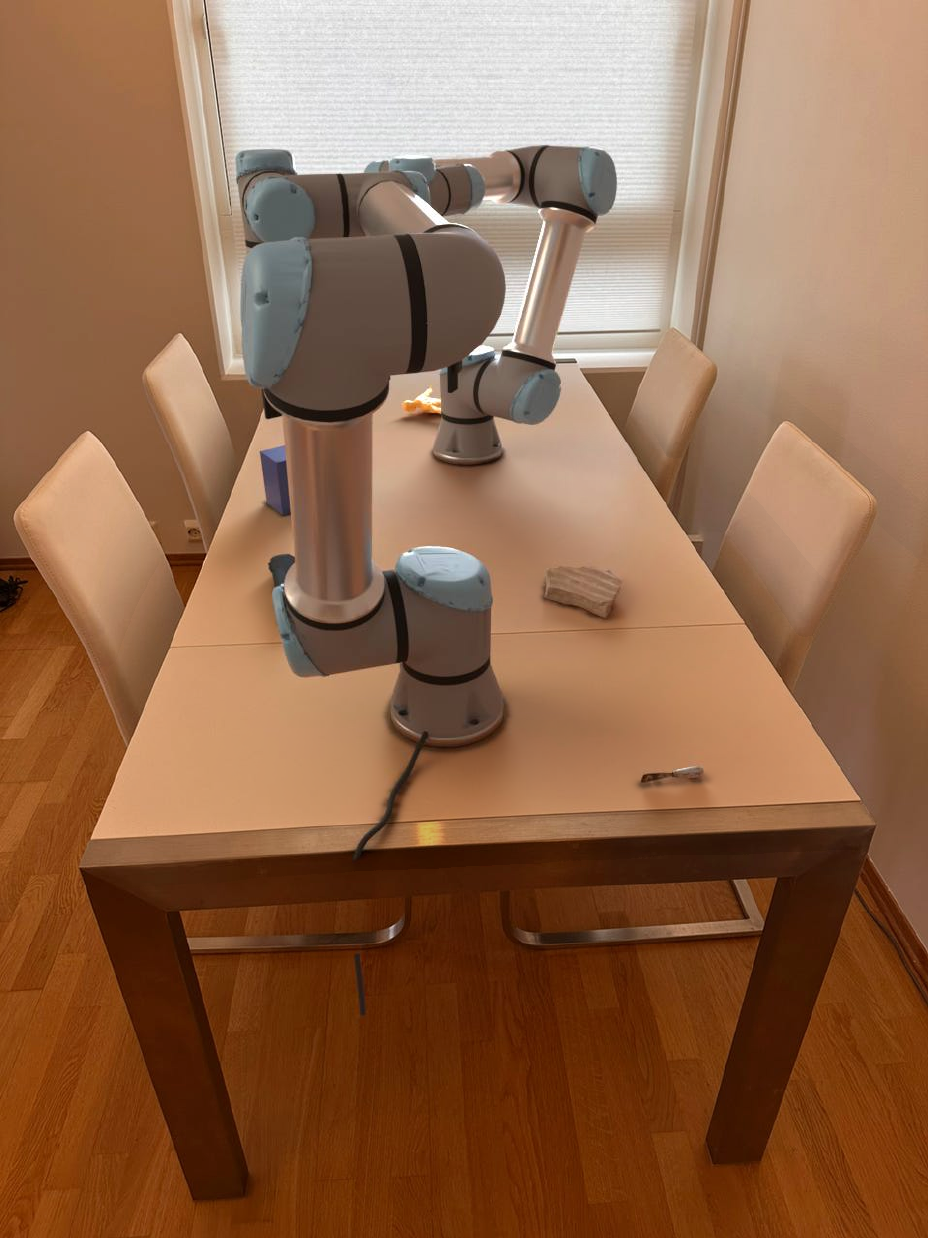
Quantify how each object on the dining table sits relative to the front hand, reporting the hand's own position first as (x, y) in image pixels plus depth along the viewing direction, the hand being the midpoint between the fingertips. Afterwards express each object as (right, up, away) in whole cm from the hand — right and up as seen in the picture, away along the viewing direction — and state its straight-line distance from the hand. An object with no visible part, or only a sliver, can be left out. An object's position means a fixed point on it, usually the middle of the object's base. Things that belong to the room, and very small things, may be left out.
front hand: (294, 429), depth 132 cm
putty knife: (+50, -48, -22) cm, 73 cm away
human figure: (+22, +25, +94) cm, 100 cm away
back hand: (+17, +14, +28) cm, 36 cm away
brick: (-9, -5, +47) cm, 48 cm away
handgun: (-1, -23, +17) cm, 29 cm away
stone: (+45, -25, +15) cm, 53 cm away
